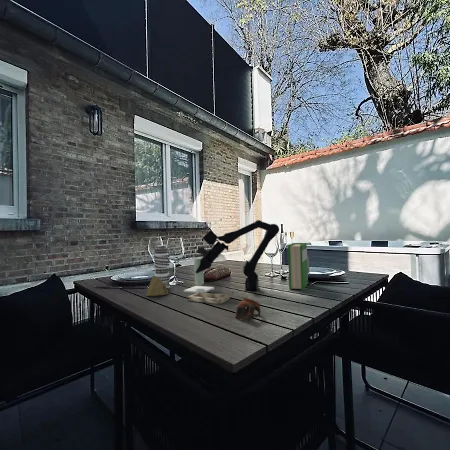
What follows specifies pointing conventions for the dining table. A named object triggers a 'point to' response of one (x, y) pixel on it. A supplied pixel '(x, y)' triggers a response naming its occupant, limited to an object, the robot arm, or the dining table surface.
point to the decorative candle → (162, 264)
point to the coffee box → (308, 262)
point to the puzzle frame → (209, 298)
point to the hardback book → (297, 265)
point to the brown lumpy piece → (249, 310)
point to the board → (199, 289)
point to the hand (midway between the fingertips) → (196, 272)
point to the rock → (156, 287)
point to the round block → (198, 276)
